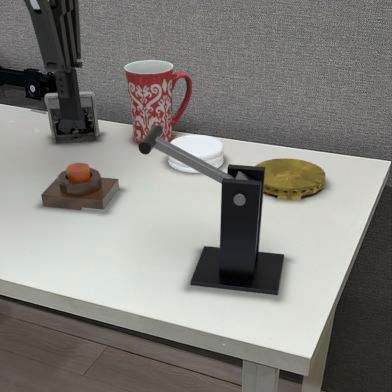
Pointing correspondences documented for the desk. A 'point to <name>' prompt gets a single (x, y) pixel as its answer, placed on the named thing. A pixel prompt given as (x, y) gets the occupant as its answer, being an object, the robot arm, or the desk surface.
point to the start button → (78, 172)
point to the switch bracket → (240, 240)
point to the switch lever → (183, 156)
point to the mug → (154, 96)
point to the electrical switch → (73, 128)
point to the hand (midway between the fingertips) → (72, 118)
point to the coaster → (198, 151)
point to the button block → (80, 192)
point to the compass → (292, 178)
